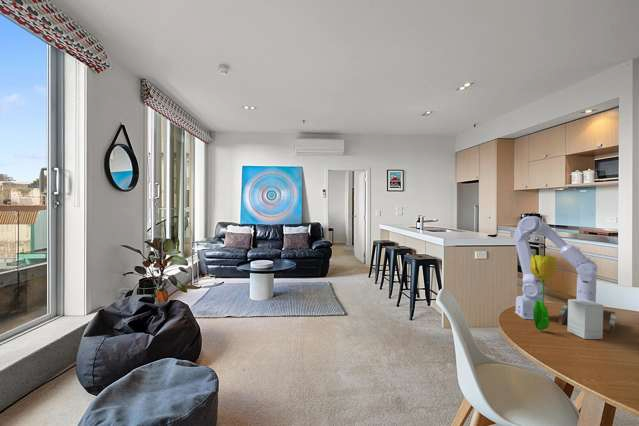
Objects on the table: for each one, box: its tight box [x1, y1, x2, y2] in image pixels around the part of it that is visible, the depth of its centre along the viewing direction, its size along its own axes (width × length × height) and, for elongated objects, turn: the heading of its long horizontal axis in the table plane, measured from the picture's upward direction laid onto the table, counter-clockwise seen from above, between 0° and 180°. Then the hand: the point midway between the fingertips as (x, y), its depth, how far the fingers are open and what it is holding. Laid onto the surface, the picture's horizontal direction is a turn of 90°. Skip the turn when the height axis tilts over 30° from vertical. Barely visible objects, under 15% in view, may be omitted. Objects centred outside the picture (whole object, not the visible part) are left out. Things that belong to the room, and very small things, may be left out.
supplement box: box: [567, 298, 604, 340], centre depth 112 cm, size 7×7×13 cm
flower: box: [530, 254, 557, 332], centre depth 115 cm, size 9×8×30 cm
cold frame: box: [558, 302, 617, 337], centre depth 123 cm, size 17×16×5 cm
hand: (585, 325), depth 118 cm, fingers closed
